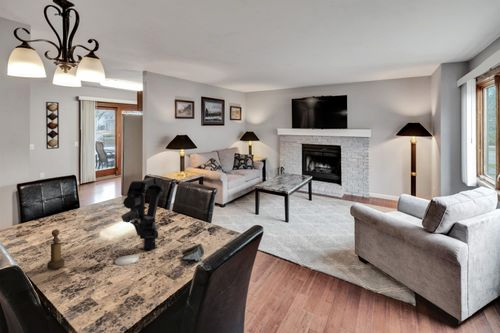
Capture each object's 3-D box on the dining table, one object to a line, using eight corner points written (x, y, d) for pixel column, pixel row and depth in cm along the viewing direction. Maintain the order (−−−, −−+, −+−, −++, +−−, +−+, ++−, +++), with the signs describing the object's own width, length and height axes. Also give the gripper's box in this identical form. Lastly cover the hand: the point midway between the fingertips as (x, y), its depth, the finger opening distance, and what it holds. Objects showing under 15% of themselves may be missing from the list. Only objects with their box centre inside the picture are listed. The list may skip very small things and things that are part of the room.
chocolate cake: (176, 261, 126) (193, 246, 124) (180, 252, 133) (195, 238, 131) (190, 272, 128) (207, 258, 126) (193, 263, 135) (208, 250, 133)
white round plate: (110, 262, 126) (110, 260, 126) (131, 255, 135) (131, 253, 135) (122, 267, 120) (122, 264, 120) (143, 259, 129) (143, 257, 129)
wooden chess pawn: (67, 263, 125) (67, 227, 125) (58, 268, 118) (57, 231, 118) (54, 263, 125) (53, 228, 125) (43, 269, 118) (43, 231, 118)
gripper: (113, 205, 126) (113, 236, 126) (135, 209, 117) (136, 242, 117) (133, 203, 136) (133, 231, 136) (155, 205, 126) (156, 236, 126)
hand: (139, 235), depth 129 cm, fingers closed
